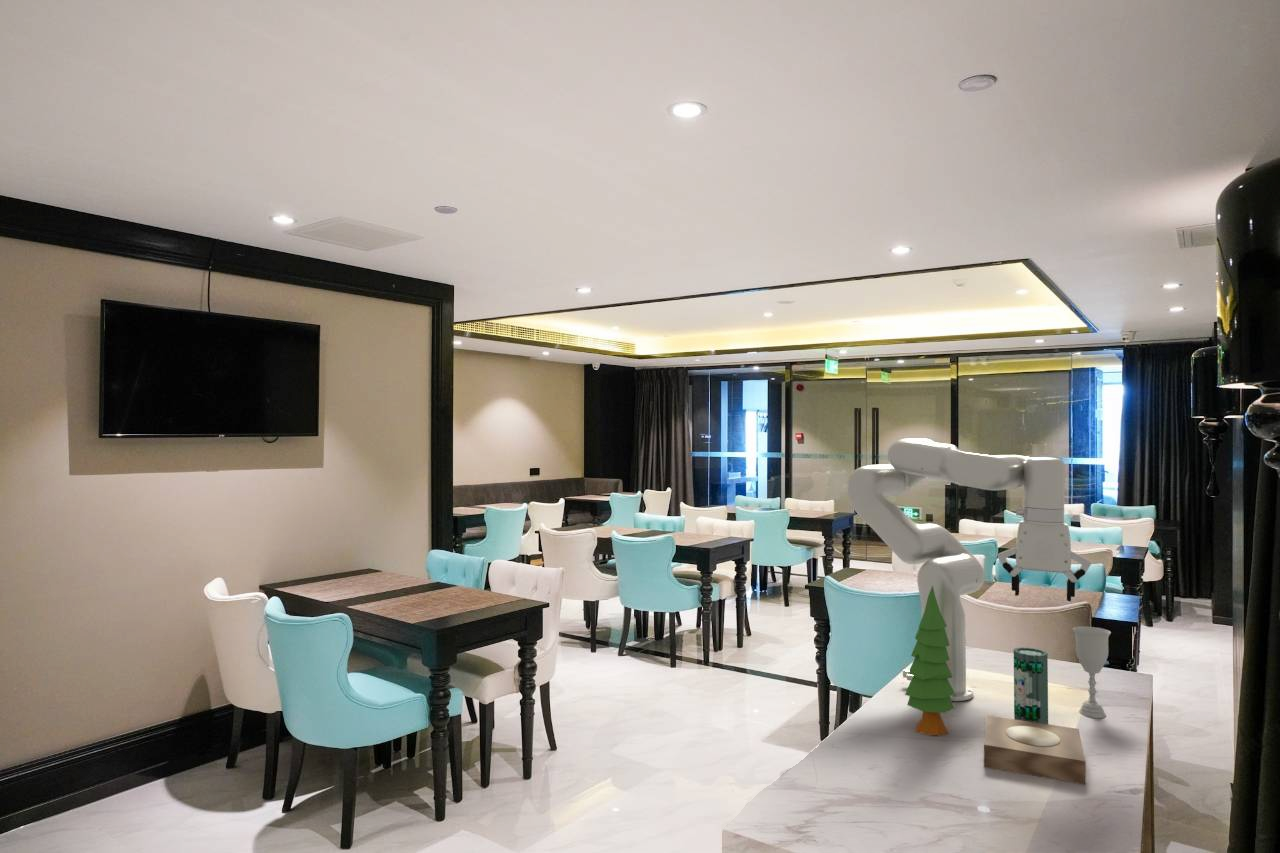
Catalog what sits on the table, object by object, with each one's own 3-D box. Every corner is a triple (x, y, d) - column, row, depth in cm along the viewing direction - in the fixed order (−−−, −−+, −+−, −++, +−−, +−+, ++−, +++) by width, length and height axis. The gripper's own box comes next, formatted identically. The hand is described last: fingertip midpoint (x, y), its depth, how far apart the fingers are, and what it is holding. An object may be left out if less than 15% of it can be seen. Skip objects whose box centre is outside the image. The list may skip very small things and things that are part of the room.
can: (1008, 719, 160) (1007, 649, 160) (1031, 716, 162) (1030, 646, 162) (1031, 730, 154) (1030, 656, 155) (1054, 726, 156) (1053, 654, 156)
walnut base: (984, 766, 138) (983, 743, 138) (987, 735, 152) (987, 714, 152) (1085, 784, 130) (1085, 759, 130) (1078, 749, 145) (1078, 727, 145)
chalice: (1102, 708, 167) (1101, 626, 167) (1118, 719, 160) (1117, 634, 160) (1067, 707, 167) (1066, 626, 167) (1082, 718, 160) (1081, 634, 161)
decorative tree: (937, 742, 148) (936, 590, 149) (894, 728, 156) (893, 583, 156) (962, 730, 155) (960, 583, 155) (919, 717, 162) (918, 577, 162)
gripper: (997, 515, 159) (996, 596, 159) (1092, 521, 151) (1091, 606, 151) (999, 511, 166) (998, 589, 166) (1090, 517, 158) (1089, 598, 158)
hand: (1042, 597), depth 159 cm, fingers open, 9 cm apart
